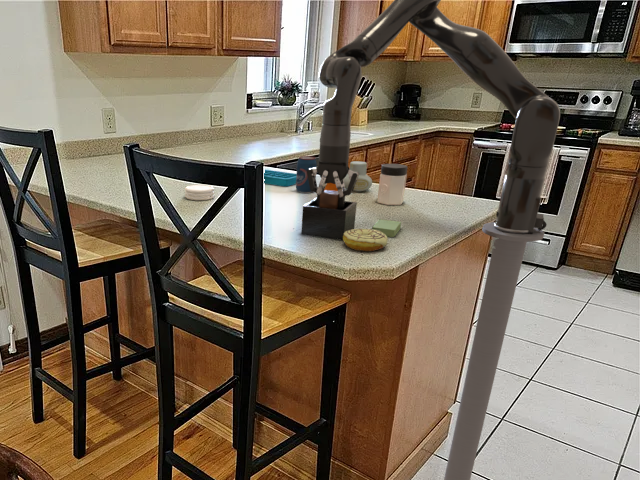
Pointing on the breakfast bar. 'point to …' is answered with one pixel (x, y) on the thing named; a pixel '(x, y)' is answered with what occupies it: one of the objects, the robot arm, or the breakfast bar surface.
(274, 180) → the ice cube tray
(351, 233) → the decorated donut
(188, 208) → the breakfast bar surface
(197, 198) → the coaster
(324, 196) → the block
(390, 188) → the jar
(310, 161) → the soda can
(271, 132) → the breakfast bar surface
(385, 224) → the sponge
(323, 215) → the black open box
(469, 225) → the breakfast bar surface
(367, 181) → the air freshener
